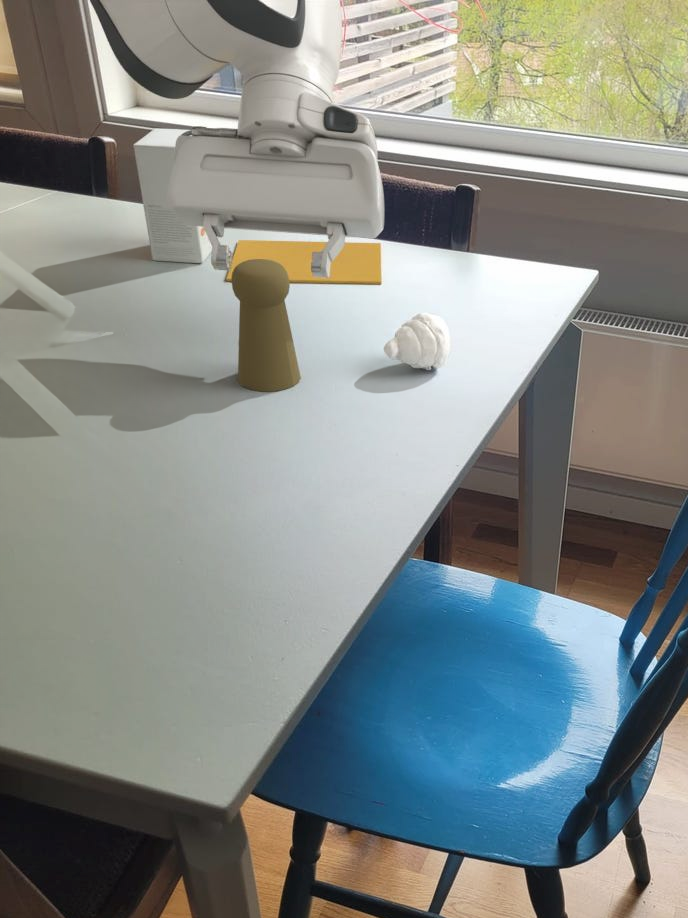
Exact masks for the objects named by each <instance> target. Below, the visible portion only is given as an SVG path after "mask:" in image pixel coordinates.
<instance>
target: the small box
mask: <svg viewBox="0 0 688 918" xmlns="http://www.w3.org/2000/svg"><path fill="white" fill-rule="evenodd" d="M191 130H192V129H178V128H158V127H157V128H156V127H155V128H153V129H152V130H151V131H150V132H148V133H147V134H146V135H144V136H143V137H142V138H141V139H139V140H137V141H136V142H135V143H134V144H132V146H133V151H134V157H135V164H136V170H137V176H138V181H139V188H140V194H141V198H142V205H143V212H144V218H145V223H146V228H147V235H148V241H149V246H150V248H149V249H150V253H151V258H152V260H153V261H154V262H155V261H156V262H171V263H172V262H173V263H174V262H175V263H188V264H203V263H204V261H205V260H206V259H207V258H208V257H209V255H211V254H212V245H211V243H210V240H209V238H208V236H207V234H206V232H205V229H204V227H201V226H188V225H184V224H182V223H181V222H180V220H179V219H178V218H177V217H176V215H175V214H174V213H173V211H172V209H171V208H170V205H169V203H168V199H167V194H168V188H169V183H170V179H171V174H172V171H173V167H174V164H175V161H174V152H175V144H176V140H177V138H178V136H180V135H182V134H183V133H185V132H187V131H191ZM190 136H192V135H190ZM217 238H218V240H219V241H220V239H219V238H220V237H218V236H217Z"/></svg>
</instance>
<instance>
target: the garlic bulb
mask: <svg viewBox="0 0 688 918" xmlns="http://www.w3.org/2000/svg"><path fill="white" fill-rule="evenodd" d="M383 351H384V353H385V355H386V356H387V357H388V358H389V359H390V360H399V361H401V363H405V364H406V365H410V366H411V368H413V369H423V370H427V371H431V370H432V367H433V368H435V369H437V370H438V369H441V368H442V367H444V366H445V364H446V362H447V360H448V358H449V356H450V353H451V337H450V331H449V328H448V326H447V324H446V323H445V320H444V319H443V318H442V317H441V316H440V315H434V314H432V313H429V312H425V311H424V312H419V313H418V314H416V315H414V316H413V317H412V318H411V319H409V320H407V321H406V322H404V323H403V324H402V325H401V326H400V327H399V328H398V329H397V330H396V331H395V333H394V337H392V338H391V339H390V340H388V341H387V342H386V343H385V345H383Z"/></svg>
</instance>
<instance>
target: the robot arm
mask: <svg viewBox="0 0 688 918" xmlns="http://www.w3.org/2000/svg"><path fill="white" fill-rule="evenodd" d="M89 3H90V4H91V6H92V8H93V10H94V12H95V14H96V16H97V19H98V21H99V23H100V25H101V29H102V30H103V32H104V35H105V37H106V41H107V42H108V44H109V46H110V48H111V49H110V50H111V51H112V53H113V55H114V56H115V58H116V60H117V62H118V64H119V65H120V66H121V68H122V69H123V71H124V72H126V74H127V75H128V76H129V77H130V78H131V79H132V80H134V82H136V83H137V84H138V85H139V86H141V87H143V88H144V89H146V90H147V91H148V92H150V93H152V94H154V95H157V96H158V97H161V98H165V99H168V100H169V99H170V100H180V99H185V98H188V97H190V96H192V94H194V93H195V92H196V91H198V90H199V89H200V88H201V87H202V86H203V85H205V84H206V83H207V82H209V80H211V79H212V77H214V75H216V74H217V73H219V72H221V71H223V70H224V69H226V68H227V67H232V68H234V69H235V70H237V71H238V72H239V73H240V75H241V77H242V87H241V94H240V106H239V112H238V122H237V128H231V127H214V128H213V127H212V128H211V127H207V126H201V125H198V126H192V127H191V129H190V130H191V131H187V132H185V133H183V134H182V135H180V136H178V138H177V140H176V144H175V152H174V161H175V164H174V167H173V171H172V174H171V179H170V183H169V188H168V194H167V199H168V203H169V205H170V208H171V209H172V211H173V213H174V214H175V215H176V217H177V218H178V219H179V220H180V222H181V223H182V224H184V225H188V226H201V227H204V229H205V232H206V234H207V236H208V238H209V240H210V243H211V245H212V251H211V253H210V255H211V256H210V263H211V266H212V268H213V269H214V270H216V271H228V272H229V271H230V270H231V263H232V260H233V257H234V254H233V252H232V251H231V250H230V247H229V245H226V244H221V243H220V239H219V240H218V238H217V236H218V237H219V238H223V237H224V233H225V229H228V230H229V229H231V230H243V231H257V232H259V231H260V232H272V233H273V232H274V233H287V234H300V235H301V234H302V235H312V236H313V235H316V236H317V235H318V236H326V237H327V239H328V241H326V242H327V244H326V245H325V247H324V248H323V250H322V251H321V252H312V260H313V262H312V263H311V272H312V273H313V276H314V277H323V278H329V275H330V266H331V262H332V261H333V260H334V259H335V258H336V256H337V255H338V254H339V252H340V251H341V250H342V249H343V247H344V244H345V242H346V238H356V239H369V240H370V239H372V240H373V239H376V238H377V237H378V236H379V235H380V234H381V233H382V232H383V230H384V227H385V193H384V186H383V180H382V175H381V170H380V167H379V162H378V161H379V160H378V158H379V157H378V156H379V154H378V144H377V143H378V142H377V139H376V135H375V132H374V129H373V126H372V123H371V121H370V119H369V118H368V117H367V116H366V115H364V114H362V113H359V112H357V111H353V110H351V109H348V108H346V107H343V106H341V105H339V104H336V103H335V98H334V87H335V84H336V82H337V80H338V78H339V73H340V67H341V55H342V44H343V15H342V6H341V0H89ZM190 135H192V136H190Z"/></svg>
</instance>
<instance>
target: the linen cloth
mask: <svg viewBox="0 0 688 918" xmlns="http://www.w3.org/2000/svg"><path fill="white" fill-rule="evenodd" d="M327 242H328V241H302V240H301V241H299V240H298V241H297V240H255V239H254V240H253V239H251V240H249V239H248V240H246V239H239V240H238V241H237V244H236V248H235V250H234V254H233V257H232V262H231V263H230V264H231V270H230V271H228V272H227V275H226V280H225V281H226V282H232V280H231V278H232V272H233V270H234V268H235V267H236V266H237V265H238V264H240V263H242V262H244V261H247V260H253V259H266V260H272V261H275V262H277V263H279V264H281V265H282V266H283V267H284V268H285V270H286V271H287V274H288V277H289V283H294V284H295V283H299V284H347V285H348V284H351V285H352V284H353V285H354V284H355V285H382V244H381V242H348V241H347V242H346V241H345V244H344V247H343V249H342V250H341V251H340V252H339V254H338V255H337V256H336V258H335V259H334V260H333V261H332V262H331V266H330V275H329V278H323V277H314V276H313V273H312V272H311V263H312V262H313V260H312V252H321V251H322V250H323V248H324V247H325V245H326V244H327Z"/></svg>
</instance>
